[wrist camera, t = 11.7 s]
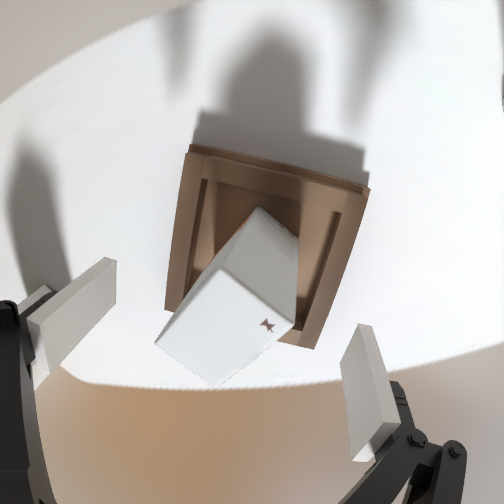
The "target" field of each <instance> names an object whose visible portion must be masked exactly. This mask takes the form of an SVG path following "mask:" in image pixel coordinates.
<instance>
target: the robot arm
mask: <svg viewBox="0 0 504 504" xmlns="http://www.w3.org/2000/svg"><path fill="white" fill-rule="evenodd" d="M116 262H117V261H116V260H113V259H110V258H107V257H104V258H103V259H101V260H100V261H99V262H97V263H96V264H95V265H93V266H92V267H91V268H89V269H88V270H87V271H85V272H84V273H83V274H81V275H80V276H79V277H77V278H76V279H75V280H73V281H72V282H71V283H70V284H68V285H67V286H66V287H64V288H63V289H62V290H61V291H59V292H57V291H52V292H49V293H47V294H45V295H44V296H42V297H41V298H40V299H39V300H37V301H36V302H35V303H34V304H32V305H31V306H30V307H28V308H27V309H26V310H25V311H23V312H22V313H21V314H20V315H19V313H18V308H17V304H16V303H15V302H13V301H10V300H3V301H0V504H57V503H56V501H55V498H54V495H53V492H52V488H51V485H50V481H49V477H48V473H47V469H46V464H45V459H44V455H43V450H42V444H41V439H40V433H39V427H38V420H37V413H36V405H35V395H34V384H33V370H32V365H31V362H32V361H33V360H34V359H35V358H36V362H37V365H38V368H40V369H42V370H43V371H45V372H47V373H49V374H52V372H53V371H54V370H55V369H56V368H57V367H58V366H59V364H60V363H61V362H62V361H63V360H64V359H65V358H66V357H67V355H68V354H69V353H70V352H71V351H72V350H73V349H74V348H75V347H76V345H77V344H78V343H79V342H80V341H81V340H82V339H83V338H84V337H85V336H86V334H87V333H88V332H89V331H90V330H91V329H92V328H93V327H94V326H95V325H96V324H97V323H98V322H99V321H100V319H101V318H102V317H103V316H104V315H105V314H106V313H107V312H108V311H109V310H110V309H111V308H112V307H113V306H114V305H115V304H116ZM340 368H341V375H342V382H343V388H344V396H345V403H346V412H347V420H348V428H349V438H350V448H351V457H352V461H363V462H368V461H369V460H370V459H371V458H372V457H373V456H374V455H375V459H376V463H374V464H373V466H371V467H370V469H369V470H368V471H367V472H366V473H365V475H364V476H363V477H362V478H361V479H360V480H359V482H358V483H357V484H356V485H355V486H354V487H353V488H352V489H351V490H350V492H349V493H348V494H347V495H346V496H345V497H344V498H343V499H342V500H341V501H340V502H339V503H338V504H391V503H392V502H393V501H394V499H395V498H396V496H397V495H398V494H399V492H400V491H401V489H402V488H403V486H404V485H405V483H406V484H408V487H407V490H406V493H405V496H404V499H403V502H402V504H461V498H462V492H463V486H464V479H465V471H466V462H467V451H466V449H465V447H464V446H463V445H462V444H461V443H459V442H458V441H454V440H450V441H447V442H446V443H445V444H444V445H443V446H439V445H436V444H432V443H429V442H428V439H427V437H426V435H425V434H424V433H423V432H422V431H420V430H418V429H416V428H415V426H414V422H413V418H412V415H411V412H410V408H409V406H408V402H407V400H406V396H405V393H404V390H403V388H402V387H401V386H400V385H399V383H398V382H395V381H389V379H388V376H387V372H386V369H385V366H384V363H383V359H382V356H381V353H380V350H379V347H378V344H377V341H376V338H375V335H374V332H373V329H372V326H368V325H363V324H359V323H358V326H357V328H356V330H355V332H354V334H353V336H352V339H351V341H350V343H349V345H348V347H347V349H346V351H345V353H344V355H343V357H342V359H341V361H340Z"/></svg>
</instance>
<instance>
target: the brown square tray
mask: <svg viewBox="0 0 504 504" xmlns="http://www.w3.org/2000/svg"><path fill="white" fill-rule="evenodd" d="M370 190H371V189H370V188H368V187H366V186H362V185H359V184H356V183H353V182H349V181H346V180H343V179H339V178H336V177H332V176H329V175H325V174H322V173H318V172H314V171H311V170H307V169H303V168H299V167H295V166H292V165H288V164H284V163H280V162H276V161H271V160H267V159H263V158H259V157H254V156H250V155H245V154H241V153H236V152H231V151H227V150H222V149H217V148H212V147H207V146H201V145H196V144H190V145H189V150H188V153H186V154H185V160H184V165H183V171H182V177H181V183H180V189H179V195H178V201H177V208H176V215H175V222H174V229H173V236H172V244H171V252H170V260H169V268H168V277H167V287H166V297H165V308H164V310H168V311H171V312H174V313H175V311H176V310H177V308H178V307H179V305H180V304H181V302H182V301H183V299H184V298H185V297H186V295H187V294H188V292H189V291H190V289H191V288H192V287H193V285H194V284H195V282H196V281H197V279H198V278H199V277H200V275H201V274H202V272H203V271H204V270H205V268H206V267H207V265H208V264H209V263H210V261H211V260H212V258H213V257H214V256H215V255H216V254H217V253H218V251H219V250H220V249H221V248H222V247H223V246H224V245H225V243H226V242H227V241H228V240H229V239H230V238H231V236H232V235H233V234H234V233H235V232H236V231H237V229H238V228H239V227H240V226H241V225H242V224H243V222H244V221H245V220H246V219H247V218H248V217H249V216H250V214H251V213H252V212H253V211H254V210H255V208H256V207H257V206H261V207H262V208H263V209H264V210H265V211H267V212H268V213H269V214H270V215H271V216H272V217H274V218H275V219H276V220H277V221H278V222H279V223H281V224H282V225H283V226H284V227H285V228H286V229H288V230H289V231H290V232H291V233H292V234H293V235H294V236H295V237H297V238H298V239H299V256H298V276H297V296H296V315H295V324H294V326H293V327H292V328H291V329H290V330H289V331H287V332H286V333H285V334H284V335H283V336H282V337H280V338H279V339H278V340H277V341H279V342H283V343H287V344H292V345H296V346H300V347H305V348H309V349H314V348H315V346H316V343H317V341H318V339H319V336H320V334H321V331H322V329H323V326H324V324H325V321H326V319H327V316H328V314H329V311H330V309H331V306H332V303H333V301H334V298H335V296H336V293H337V290H338V288H339V285H340V282H341V279H342V277H343V274H344V271H345V268H346V265H347V263H348V260H349V257H350V254H351V251H352V248H353V245H354V242H355V239H356V236H357V233H358V230H359V227H360V224H361V221H362V217H363V214H364V211H365V208H366V204H367V201H368V196H369V193H370Z"/></svg>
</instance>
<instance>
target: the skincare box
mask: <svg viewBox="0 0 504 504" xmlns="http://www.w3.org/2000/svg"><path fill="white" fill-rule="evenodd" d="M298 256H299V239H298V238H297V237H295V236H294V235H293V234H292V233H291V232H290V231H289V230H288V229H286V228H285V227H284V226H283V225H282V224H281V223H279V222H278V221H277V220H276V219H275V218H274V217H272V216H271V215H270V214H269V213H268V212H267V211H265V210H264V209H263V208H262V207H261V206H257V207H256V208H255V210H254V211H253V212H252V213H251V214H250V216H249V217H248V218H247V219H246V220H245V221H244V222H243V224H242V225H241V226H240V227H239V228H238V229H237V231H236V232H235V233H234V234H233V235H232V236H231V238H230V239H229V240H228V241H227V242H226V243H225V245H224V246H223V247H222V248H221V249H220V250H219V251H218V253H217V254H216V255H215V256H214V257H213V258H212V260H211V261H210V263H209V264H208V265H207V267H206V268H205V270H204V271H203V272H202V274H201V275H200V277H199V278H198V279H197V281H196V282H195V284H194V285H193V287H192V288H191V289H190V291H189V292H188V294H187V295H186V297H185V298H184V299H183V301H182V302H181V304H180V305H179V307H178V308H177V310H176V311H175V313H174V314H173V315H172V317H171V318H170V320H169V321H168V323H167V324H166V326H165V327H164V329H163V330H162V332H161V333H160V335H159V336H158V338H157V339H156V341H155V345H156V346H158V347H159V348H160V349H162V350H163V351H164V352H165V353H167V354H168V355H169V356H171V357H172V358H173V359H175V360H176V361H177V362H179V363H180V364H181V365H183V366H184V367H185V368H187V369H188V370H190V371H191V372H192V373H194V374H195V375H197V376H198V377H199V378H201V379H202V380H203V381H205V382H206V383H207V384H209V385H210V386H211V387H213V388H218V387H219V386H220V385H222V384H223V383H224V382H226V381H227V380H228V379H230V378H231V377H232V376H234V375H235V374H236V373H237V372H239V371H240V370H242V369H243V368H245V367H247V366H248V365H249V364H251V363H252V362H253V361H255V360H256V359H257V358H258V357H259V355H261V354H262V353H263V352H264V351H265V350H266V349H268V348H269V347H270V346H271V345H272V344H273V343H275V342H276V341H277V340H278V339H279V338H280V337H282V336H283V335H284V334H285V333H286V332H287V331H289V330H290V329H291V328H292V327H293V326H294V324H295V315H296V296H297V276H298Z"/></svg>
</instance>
